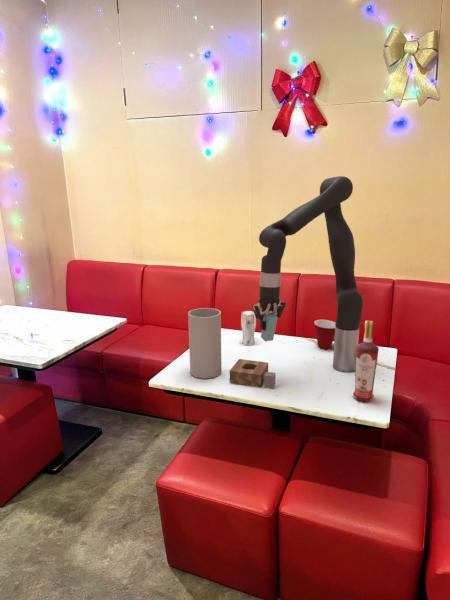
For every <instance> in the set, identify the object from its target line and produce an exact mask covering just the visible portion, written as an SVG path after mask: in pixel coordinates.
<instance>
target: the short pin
mask: <svg viewBox="0 0 450 600" xmlns="http://www.w3.org/2000/svg"><path fill="white" fill-rule="evenodd" d="M263 385H264V387H263V388H264V389H270V390H274V388H275V387H276V372H271V371H268V372H266V373H265V375H264V382H263Z"/></svg>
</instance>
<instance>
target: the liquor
mask: <svg viewBox="0 0 450 600" xmlns="http://www.w3.org/2000/svg"><path fill="white" fill-rule="evenodd" d="M364 321H365V322H364V333H363V339H362V340H363V341H362V342H360V343H359V342H358V345H356V371H354V372H355V375H354V377H355V378H354V380H355V381H354V391H353V393H352V394H353V397H355V398H356V399H357V400H358V401H361V402H368V401H371V400H372V399H374V397H375V395H374V393H373V392H374V385H375V378H376V377H375V376H376V370H377V365H378V357H379V351H380V349H379V346H378V345H376V344H375V343H374V342H373V329H374V323H375V322H374V321H372V320H364Z"/></svg>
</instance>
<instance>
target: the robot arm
mask: <svg viewBox="0 0 450 600" xmlns="http://www.w3.org/2000/svg"><path fill="white" fill-rule="evenodd" d="M353 189H354V185H353V183H352V180H351V179H350V178H348V177H347V176H343V175H341V176H340V175H339V176H335V177H334V176H333V177H328V178H325V179H324V180H322V182H321V184H320V186H319V195H318V196H316V197H315V198H312V199H311V200H309V201H307V202H305V203H303V204H302V205H301V204H300V205H299V206H298V207H296V208H295V209H294V210H292V211H290V212H289V213H288V214H287V215H285V216H284V217H283V218H282V219H280V220H279V219H278V220H277V221H275V222H273V223H272V224H268V226H266V227H265V228H263V230H262V231H261V232H260V233H259V236H258V241H259V244H260V245H261V246H262V247H265V248H267V251H266V252H267V253H266V255H263V256H262V258H261V265H260V276H259V292H258V293H259V295H258V296H259V300H258V302H257V303H255V304H254V303H253V304H252V305H251V307H252V311H254V314H255V317H256V320H259V322H260V323H259V324H260V325H259V327H260V329H261V331H262V330H263V331H265V330H266V317H267V315H268V313H273V314H275V315H276V316H277V317H278V318H281V317H282V315H283V311H284V309H285V307H286V305H287V304H286V302H285V301H283V300H280V296H281V284H282V283H281V281H282V278H281V277H282V276H281V271H282V270H281V268H282V259H283V257H284V254H285V250H286V246H287V236H288V237H289V236H293V235H296V233H298V232H300V231H301V230H302V229H303V228H304V227H306V226H307V225H308V224H310V223H311V222H313V221H314V220H315V219H316V218H318V217H319V216H321V215H322V214H324V218H325V224H326V225H325V226H326V230H327V238H328V246H329V253H330V258H331V259H330V260H331V264H332V267H333V272H334V278H335V300H336V304H337V311H336V319H335V321H334V322H335V335H334V339H333V357H332V358H333V360H332V368H334V369H335V370H337V371H339V372H347V373H348V372H350V373H351V372H355V371H356V345H358V344H359V336H360V326H361V321H362V315H363V296H362V294H361V293H360V291H359V289H358V287H357V282H356V278H355V262H356V248H355V239H354V235H353V232H352V230H351V228H350V226H349V225H348V223H347V221H346V220H345V218H344V215H343V211H342V205H341V204H342V203H343V202H345V201H348V200H349V198H351V195H352V194H353Z"/></svg>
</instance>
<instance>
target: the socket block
mask: <svg viewBox="0 0 450 600" xmlns="http://www.w3.org/2000/svg"><path fill="white" fill-rule="evenodd" d="M266 372H269V362H266V361H259V360H252V359H251V360H250V359H244V358H239V359H237V361H236V362H235V364H234V365H233V366H232V367H231V369H230V370H229V384H234V385H240V386H249V387H255V388H262V386H263V385H264V375H265V373H266Z"/></svg>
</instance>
